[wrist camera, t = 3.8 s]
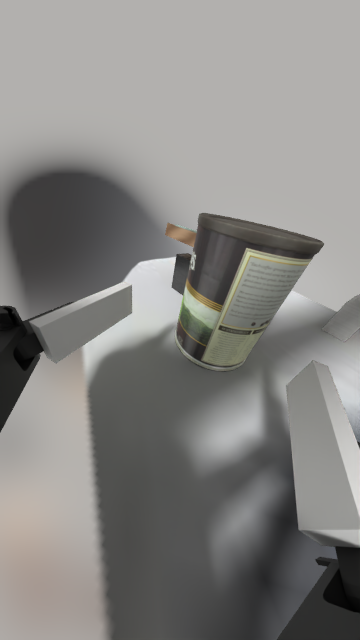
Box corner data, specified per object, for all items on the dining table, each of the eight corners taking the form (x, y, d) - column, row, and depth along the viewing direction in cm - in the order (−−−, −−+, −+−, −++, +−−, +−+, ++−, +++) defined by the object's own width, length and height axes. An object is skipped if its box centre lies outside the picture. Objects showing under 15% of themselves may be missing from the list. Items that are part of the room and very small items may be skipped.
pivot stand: (281, 290, 43) (304, 252, 37) (220, 321, 26) (246, 260, 20) (222, 264, 54) (233, 231, 48) (152, 274, 37) (156, 224, 31)
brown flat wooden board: (281, 268, 41) (286, 260, 40) (226, 261, 22) (233, 245, 21) (234, 251, 49) (237, 243, 48) (163, 234, 30) (166, 221, 29)
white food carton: (321, 329, 30) (367, 280, 24) (331, 320, 34) (373, 276, 28) (344, 342, 28) (400, 291, 22) (352, 331, 32) (402, 285, 26)
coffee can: (160, 348, 19) (179, 210, 11) (190, 310, 27) (215, 213, 19) (243, 388, 17) (350, 250, 9) (250, 334, 25) (309, 235, 16)
